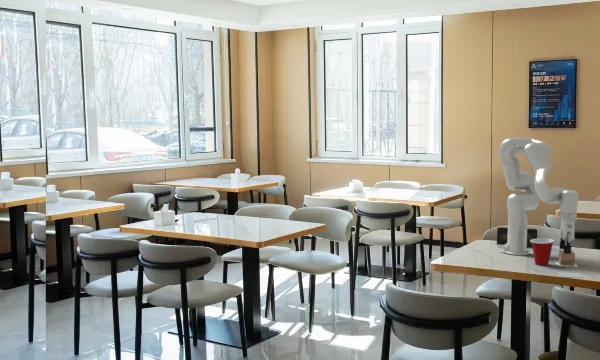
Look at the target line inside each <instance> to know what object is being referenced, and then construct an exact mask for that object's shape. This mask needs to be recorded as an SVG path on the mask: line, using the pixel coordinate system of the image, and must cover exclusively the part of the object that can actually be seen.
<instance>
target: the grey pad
mask: <svg viewBox="0 0 600 360" xmlns="http://www.w3.org/2000/svg"><path fill="white" fill-rule="evenodd" d="M557 274H558V275H559V276H560V277H561V278H570V279H572V278H573V279H574V278H575V279H584V277H583V276H582V275H581V274H580V272H559V271H558V272H557Z"/></svg>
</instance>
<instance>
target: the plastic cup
mask: <svg viewBox="0 0 600 360" xmlns="http://www.w3.org/2000/svg"><path fill="white" fill-rule="evenodd" d="M530 242H531V244H532V247H531V248H532V253H533V259H534V264H535V265H536V266H545V267H546V266H548V265H549V261H550V258H551V254H552V248H553V245H554V242H555V240H554V239H552V238H545V237H544V238H543V237H542V238H540V237H539V238H538V237H537V239H532V240H530Z"/></svg>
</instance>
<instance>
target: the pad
mask: <svg viewBox="0 0 600 360" xmlns="http://www.w3.org/2000/svg"><path fill="white" fill-rule="evenodd" d="M554 263H555V264H556V265H557V266H558V267H572V268H574V267H576V268H578V267H579V266H578V264H576V263H574V266H570V265H560V264H559V261H554Z"/></svg>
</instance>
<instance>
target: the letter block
mask: <svg viewBox="0 0 600 360" xmlns="http://www.w3.org/2000/svg"><path fill="white" fill-rule="evenodd" d="M563 252H564V249H559V250H558V262H559V264H560V265H570V266H574V263H575V262H576V261H575V259H576V253H575V251H573V250H571V254H565V253H563ZM575 264H576V263H575ZM570 266H569V267H570Z"/></svg>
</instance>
